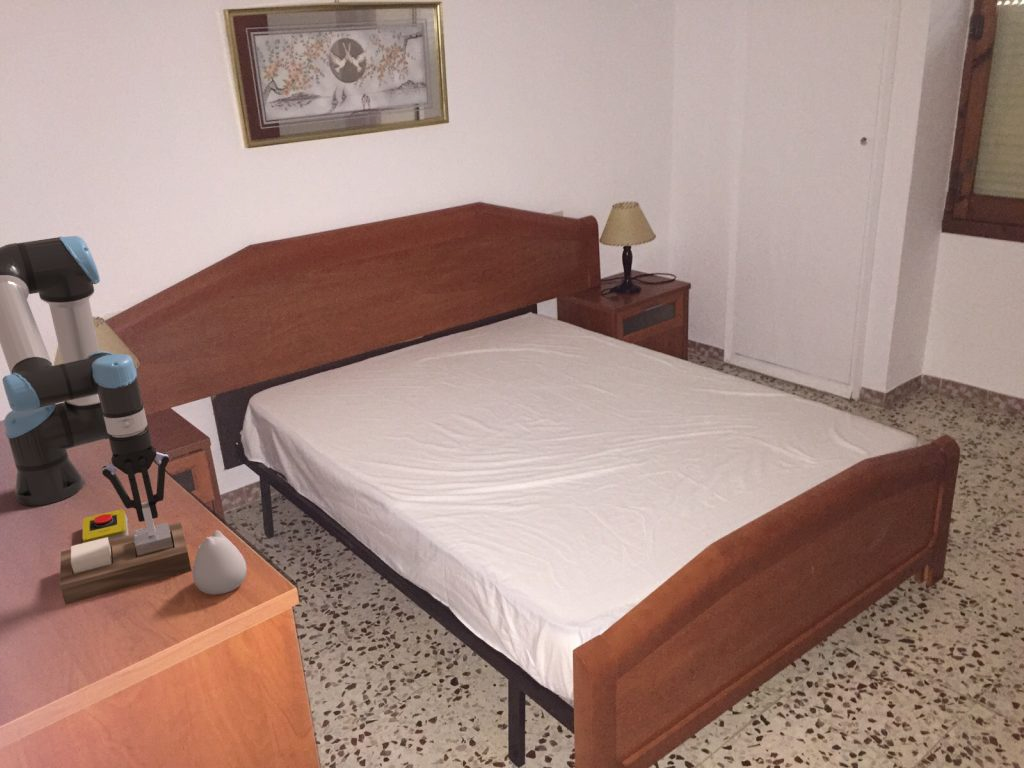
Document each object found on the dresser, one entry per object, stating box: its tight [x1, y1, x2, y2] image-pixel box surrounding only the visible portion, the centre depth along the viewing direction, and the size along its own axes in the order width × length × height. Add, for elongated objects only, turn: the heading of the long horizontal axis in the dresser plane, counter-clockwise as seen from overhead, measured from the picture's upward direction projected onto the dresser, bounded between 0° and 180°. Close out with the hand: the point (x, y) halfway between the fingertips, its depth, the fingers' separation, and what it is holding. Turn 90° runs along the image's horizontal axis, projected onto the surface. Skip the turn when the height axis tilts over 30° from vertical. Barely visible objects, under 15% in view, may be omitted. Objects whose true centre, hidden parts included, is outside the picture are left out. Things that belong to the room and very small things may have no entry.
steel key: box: [132, 522, 173, 557], centre depth 176 cm, size 7×7×3 cm
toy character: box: [192, 529, 247, 596], centre depth 167 cm, size 10×10×12 cm
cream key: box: [70, 537, 112, 574], centre depth 171 cm, size 7×7×3 cm
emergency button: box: [82, 508, 130, 543], centre depth 189 cm, size 9×4×15 cm
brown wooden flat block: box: [59, 521, 192, 605], centre depth 175 cm, size 14×24×4 cm, turn 116°
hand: (151, 532), depth 175 cm, fingers closed
